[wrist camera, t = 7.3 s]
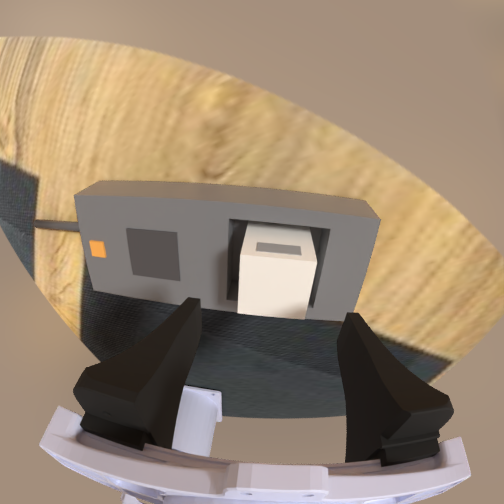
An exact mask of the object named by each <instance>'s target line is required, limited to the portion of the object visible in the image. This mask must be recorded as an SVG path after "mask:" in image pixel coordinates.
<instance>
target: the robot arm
mask: <svg viewBox="0 0 504 504" xmlns="http://www.w3.org/2000/svg"><path fill="white" fill-rule="evenodd" d="M201 332H202V318H201V299H199V298H192V297H188V298H187V299H186V300H185V301H184V302H183V303H182V304H181V305H180V306H179V307H178V308H177V309H176V310H175V311H174V312H173V313H172V314H171V315H170V316H169V317H168V318H167V319H166V320H165V321H164V322H163V323H162V324H161V325H160V326H159V327H158V328H156V329H155V330H154V331H153V332H152V333H151V334H149V335H148V336H147V337H145V338H144V339H143V340H141V341H140V342H139V343H137V344H136V345H134V346H132V347H131V348H129V349H127V350H126V351H124V352H122V353H120V354H118V355H116V356H114V357H112V358H110V359H108V360H106V361H103V362H101V363H98V364H95V365H92V366H90V367H86V368H85V370H84V371H83V373H82V374H81V376H80V378H79V380H78V382H77V383H76V385H75V387H74V389H73V393H74V395H75V397H76V399H77V401H78V402H79V404H80V405H81V406H82V408H83V409H84V411H85V414H84V416H83V417H82V416H81V415H79V414H77V413H76V412H73V411H71V410H68V409H66V408H64V407H62V406H58V407H57V409H56V411H55V413H54V415H53V417H52V419H51V421H50V423H49V425H48V427H47V429H46V431H45V433H44V435H43V437H42V439H41V442H40V443H39V445H40V447H41V448H43V449H44V450H45V451H46V452H47V453H48V454H50V455H51V456H52V457H53V458H55V459H56V460H57V461H58V462H60V463H61V464H62V465H64V466H66V467H68V468H69V469H72V470H73V471H75V472H78V473H80V474H82V475H84V476H86V477H88V478H90V479H92V480H95V481H97V482H99V483H101V484H104V485H106V486H108V487H110V488H113V489H115V490H118V491H120V492H122V495H121V501H122V504H144V503H142V502H140V501H138V500H137V499H136V498H139V499H142V500H145V501H148V502H151V503H154V504H410V503H413V502H417V501H420V500H423V499H426V498H429V497H432V496H435V495H438V494H440V493H443V492H445V491H447V490H449V489H450V488H452V487H454V486H455V485H457V484H459V483H461V482H462V481H464V480H466V479H467V478H469V477H470V476H471V472H470V468H469V465H468V460H467V457H466V453H465V449H464V446H463V443H462V439H461V437H456V438H452V439H448V440H445V441H442V442H440V443H438V441H437V438H439V437H440V434H439V429H440V428H441V427H442V426H444V425H445V423H447V422H448V420H449V419H450V418H451V417H452V415H453V413H454V409H453V407H452V404H451V401H450V398H449V396H448V395H446V394H444V393H442V392H440V391H438V390H437V389H435V388H433V387H431V386H430V385H428V384H427V383H425V382H424V381H422V380H421V379H419V378H418V377H417V376H416V375H414V374H413V373H412V372H410V371H409V370H408V369H407V368H406V367H405V366H404V365H402V364H401V363H400V362H399V361H398V360H397V359H396V358H395V357H394V356H393V355H392V354H391V353H390V351H389V350H388V349H387V348H386V347H385V346H384V345H383V344H382V342H381V341H380V340H379V339H378V337H377V336H376V335H375V334H374V332H373V331H372V330H371V329H370V327H369V326H368V325H367V323H366V322H365V321H364V319H363V318H362V317H361V316H360V314H359V313H351V312H347V314H346V317H345V320H344V323H343V325H342V328H341V331H340V334H339V337H338V339H337V352H338V361H339V367H340V372H341V377H342V382H343V388H344V393H345V400H346V418H347V438H346V440H347V441H346V457H345V463H337V464H275V463H259V462H242V461H234V460H226V459H218V458H212V457H209V455H210V450H211V445H212V440H213V434H214V429H215V424H216V421H217V422H221V421H222V397H221V392H220V391H216V390H209V389H203V388H197V387H191V386H186V385H185V381H186V379H187V376H188V373H189V370H190V368H191V365H192V362H193V359H194V357H195V354H196V351H197V348H198V345H199V341H200V336H201ZM135 497H136V498H135Z"/></svg>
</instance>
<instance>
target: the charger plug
mask: <svg viewBox="0 0 504 504" xmlns="http://www.w3.org/2000/svg"><path fill="white" fill-rule="evenodd" d="M316 265H317V259H316V254H315V250H314V245H313V241H312V237H311V232H310V228H309V226H300V225H291V224H281V223H271V222H261V221H250V220H249V221H248V225H247V229H246V233H245V237H244V242H243V246H242V250H241V254H240V271H239V292H238V313H240V314H249V315H259V316H270V317H281V318H293V319H305V315H306V311H307V307H308V302H309V298H310V293H311V289H312V284H313V280H314V275H315V270H316Z"/></svg>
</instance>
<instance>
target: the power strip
mask: <svg viewBox="0 0 504 504" xmlns="http://www.w3.org/2000/svg"><path fill="white" fill-rule="evenodd" d="M74 199H75V206H76V212H77V218H78V222H68V221H54V220H38V219H37V220H35V221H34V226H35V227H36V228H45V229H56V230H67V231H78V232H80V234H81V239H82V244H83V249H84V253H85V258H86V262H87V266H88V270H89V274H90V278H91V282H92V285H93V289H94V290H96V291H101V292H106V293H111V294H117V295H122V296H128V297H133V298H139V299H145V300H151V301H158V302H164V303H171V304H177V305H181V304H182V303H183V302H184V301H185V300H186V299H187V298H188V297H192V298H199V299H201V308H206V309H214V310H222V311H231V312H238V292H239V271H240V254H241V250H242V246H243V242H244V237H245V233H246V229H247V225H248V221H249V220H250V221H261V222H271V223H281V224H291V225H300V226H309V228H310V232H311V237H312V241H313V245H314V250H315V254H316V259H317V265H316V270H315V275H314V280H313V284H312V289H311V293H310V298H309V302H308V307H307V311H306V315H305V319H317V320H333V321H344V320H345V317H346V314H347V312H351V313H353V311H354V308H355V306H356V303H357V300H358V297H359V294H360V291H361V288H362V284H363V281H364V278H365V275H366V272H367V268H368V265H369V262H370V258H371V255H372V251H373V248H374V244H375V240H376V237H377V233H378V229H379V225H380V221H381V219H380V218H379V217H378V215H377V214H376V213H375V212H374V210H373V209H372V208H371V207H370V206H369V204H368V203H367V202H366V201H364V200H358V199H351V198H344V197H337V196H329V195H322V194H314V193H305V192H297V191H288V190H278V189H268V188H257V187H246V186H233V185H219V184H203V183H184V182H159V181H98V182H96V183H94V184H93V185H91V186H89V187H87V188H85V189H84V190H82V191H80V192H79V193H77V194H75V195H74Z"/></svg>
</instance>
